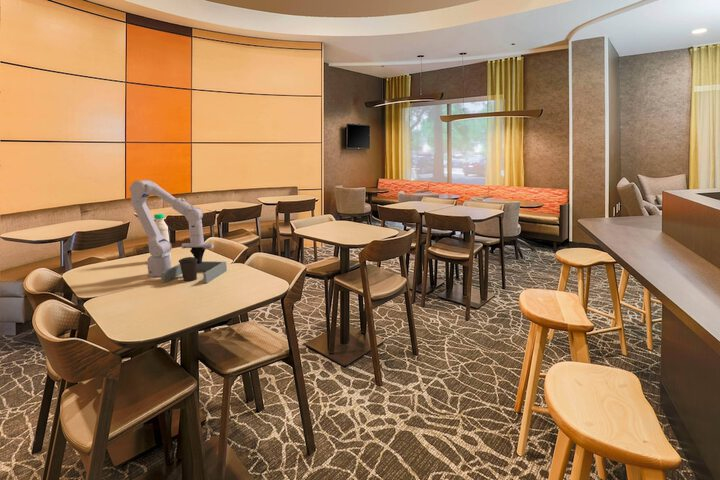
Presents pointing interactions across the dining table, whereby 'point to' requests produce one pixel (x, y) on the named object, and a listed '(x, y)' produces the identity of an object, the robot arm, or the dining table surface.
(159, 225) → the water bottle
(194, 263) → the coffee cup
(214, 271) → the gray rectangular arch
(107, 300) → the dining table surface
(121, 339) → the dining table surface
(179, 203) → the robot arm
